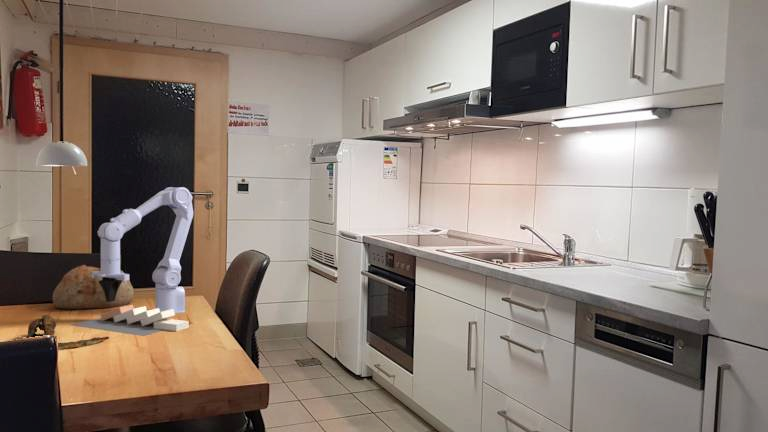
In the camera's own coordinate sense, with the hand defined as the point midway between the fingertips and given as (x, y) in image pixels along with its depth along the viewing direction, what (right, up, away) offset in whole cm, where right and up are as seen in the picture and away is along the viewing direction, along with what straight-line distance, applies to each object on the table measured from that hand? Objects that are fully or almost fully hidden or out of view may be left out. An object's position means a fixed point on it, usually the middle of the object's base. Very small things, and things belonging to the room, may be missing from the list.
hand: (110, 301), depth 185 cm
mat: (+8, -7, -7) cm, 13 cm away
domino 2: (+4, -5, -2) cm, 7 cm away
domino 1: (-1, -5, +1) cm, 5 cm away
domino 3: (+9, -5, -4) cm, 11 cm away
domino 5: (+19, -6, -8) cm, 22 cm away
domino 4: (+15, -6, -6) cm, 17 cm away
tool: (+1, -8, -30) cm, 31 cm away
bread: (-18, -6, +26) cm, 32 cm away
